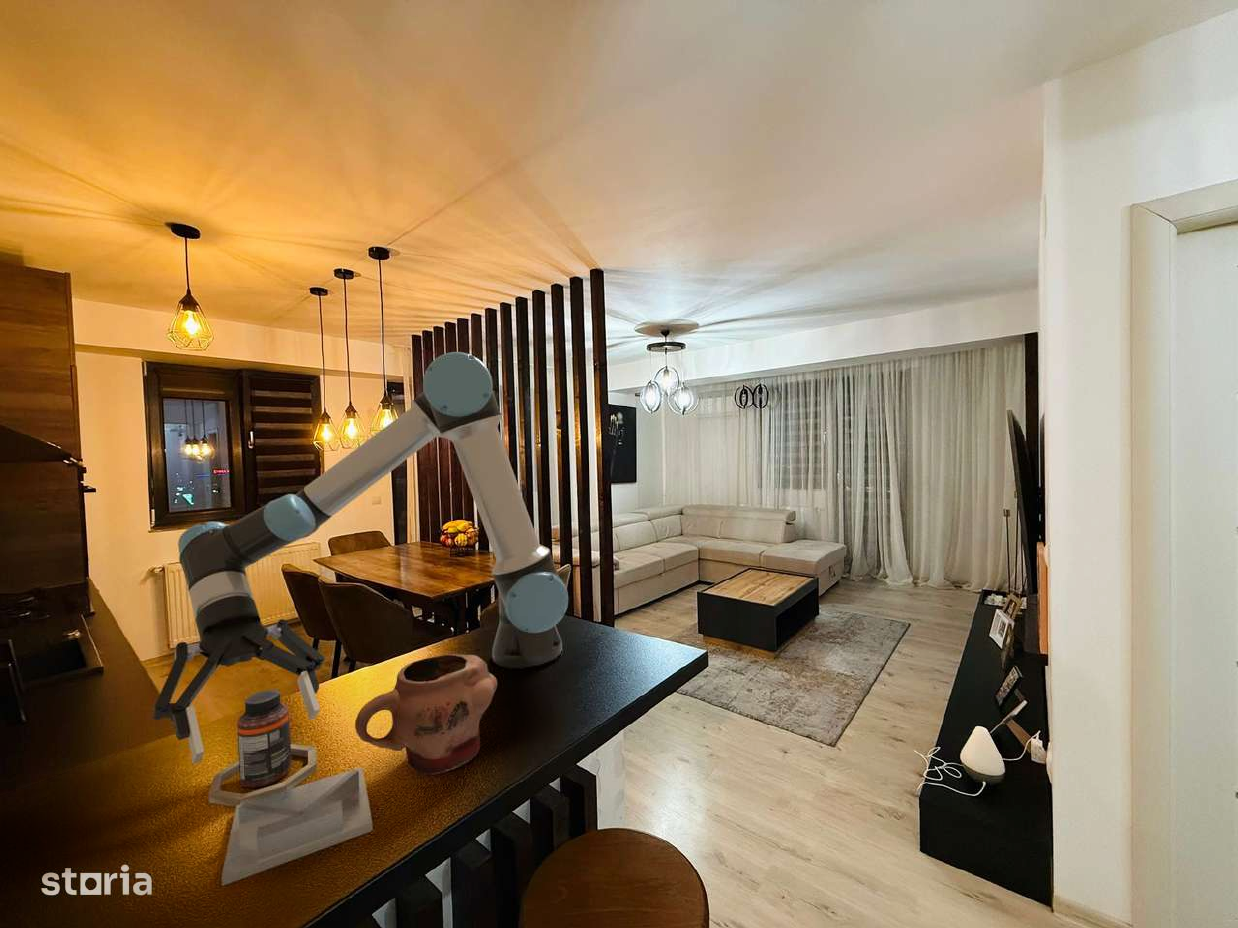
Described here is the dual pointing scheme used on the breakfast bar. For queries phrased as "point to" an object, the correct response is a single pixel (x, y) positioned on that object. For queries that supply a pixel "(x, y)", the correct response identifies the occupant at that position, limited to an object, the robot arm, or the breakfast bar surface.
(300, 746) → the wooden collar
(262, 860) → the v-block
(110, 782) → the breakfast bar surface
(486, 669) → the sculpted ceramic mug
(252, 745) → the supplement bottle
